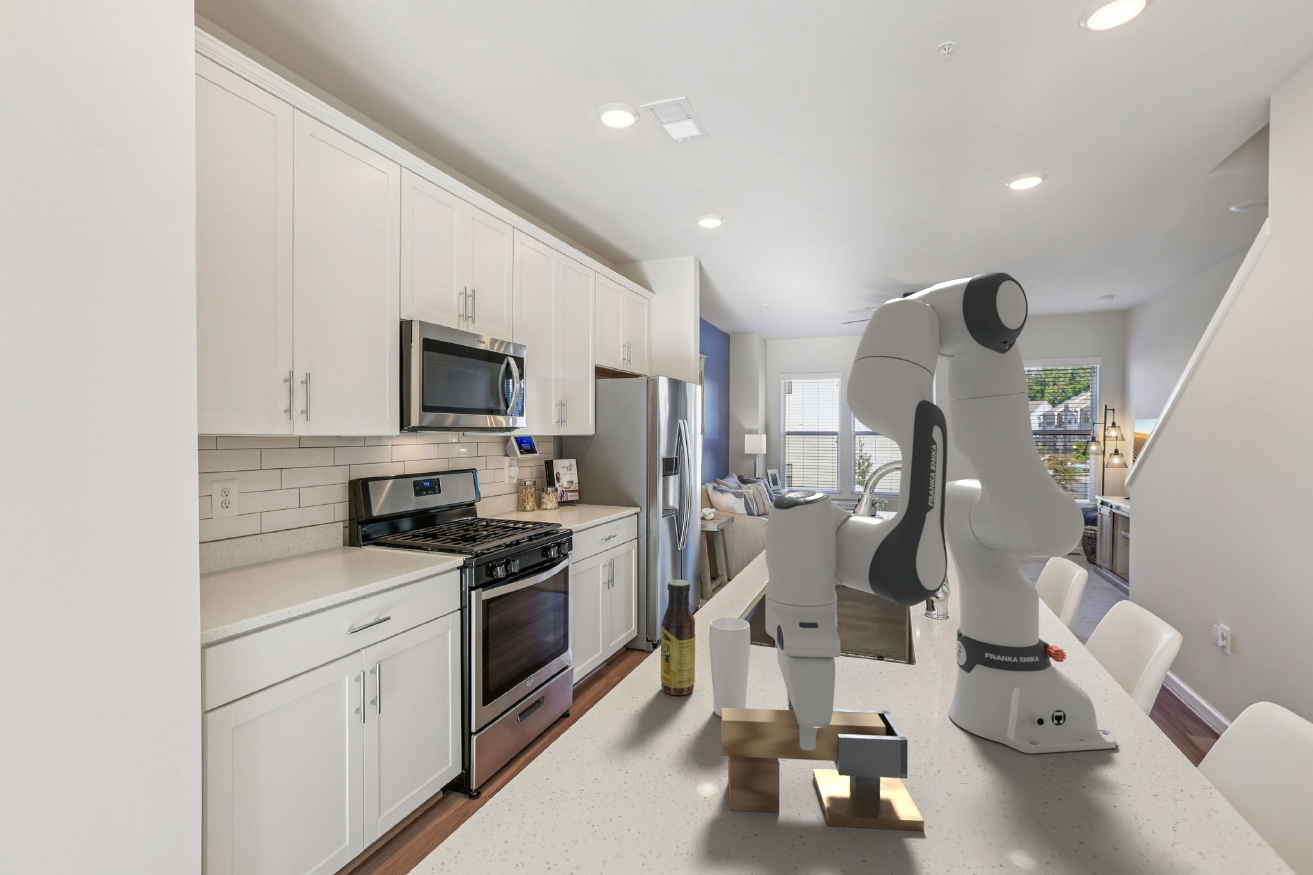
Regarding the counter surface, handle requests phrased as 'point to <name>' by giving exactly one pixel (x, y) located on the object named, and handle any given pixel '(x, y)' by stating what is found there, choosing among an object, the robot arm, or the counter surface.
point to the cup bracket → (869, 781)
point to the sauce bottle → (678, 641)
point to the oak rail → (789, 733)
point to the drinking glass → (729, 662)
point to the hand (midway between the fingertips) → (800, 727)
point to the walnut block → (753, 784)
